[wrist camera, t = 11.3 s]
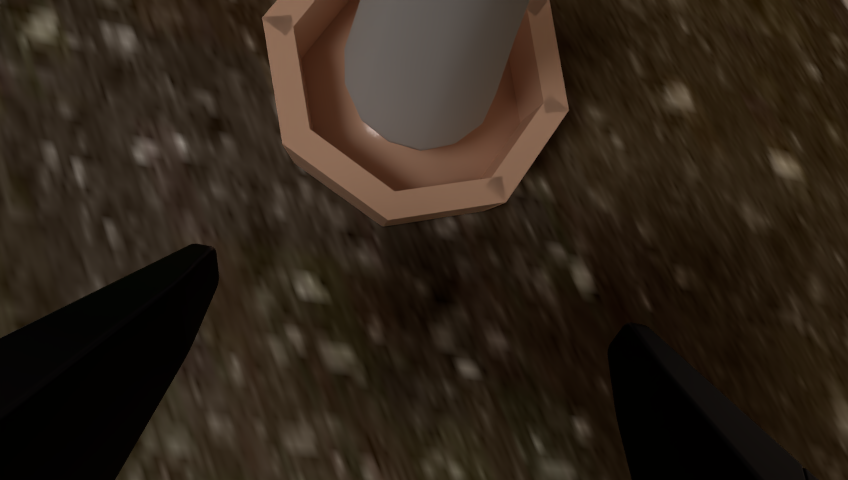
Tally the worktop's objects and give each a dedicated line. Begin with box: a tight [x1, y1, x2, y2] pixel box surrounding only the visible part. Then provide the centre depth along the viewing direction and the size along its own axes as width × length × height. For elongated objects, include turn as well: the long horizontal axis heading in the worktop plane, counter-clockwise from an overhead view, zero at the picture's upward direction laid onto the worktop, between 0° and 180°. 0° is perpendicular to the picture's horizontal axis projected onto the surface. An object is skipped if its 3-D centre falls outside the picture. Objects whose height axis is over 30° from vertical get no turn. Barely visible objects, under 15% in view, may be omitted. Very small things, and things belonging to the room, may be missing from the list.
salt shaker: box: [344, 0, 529, 151], centre depth 12 cm, size 6×6×13 cm
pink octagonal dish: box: [262, 0, 569, 227], centre depth 17 cm, size 11×11×3 cm
